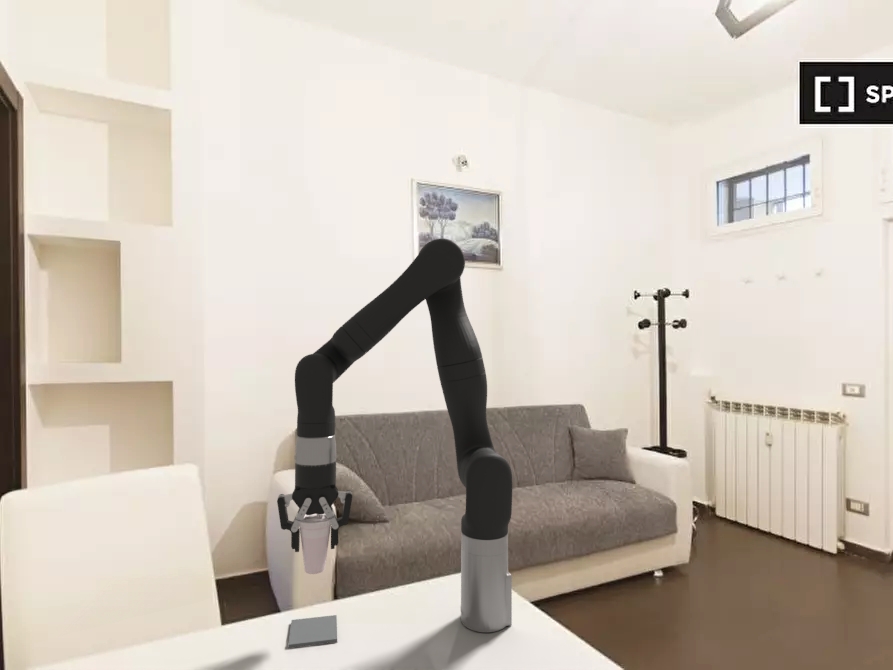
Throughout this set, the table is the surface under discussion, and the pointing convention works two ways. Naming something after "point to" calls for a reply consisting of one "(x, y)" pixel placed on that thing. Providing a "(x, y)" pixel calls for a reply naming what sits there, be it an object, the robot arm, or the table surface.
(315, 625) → the coaster
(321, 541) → the smoothie
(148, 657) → the table surface
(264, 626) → the table surface
